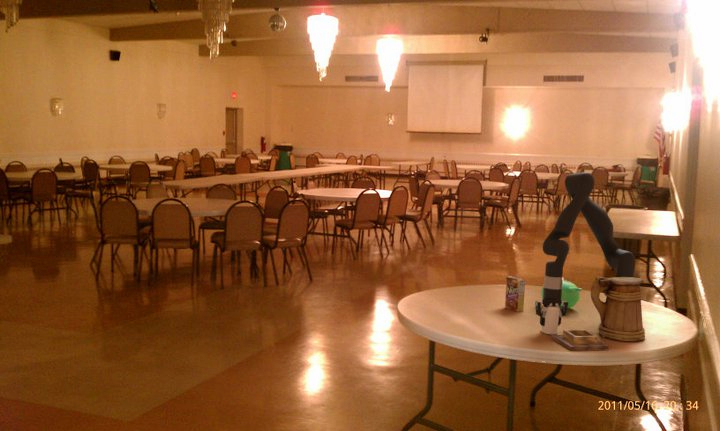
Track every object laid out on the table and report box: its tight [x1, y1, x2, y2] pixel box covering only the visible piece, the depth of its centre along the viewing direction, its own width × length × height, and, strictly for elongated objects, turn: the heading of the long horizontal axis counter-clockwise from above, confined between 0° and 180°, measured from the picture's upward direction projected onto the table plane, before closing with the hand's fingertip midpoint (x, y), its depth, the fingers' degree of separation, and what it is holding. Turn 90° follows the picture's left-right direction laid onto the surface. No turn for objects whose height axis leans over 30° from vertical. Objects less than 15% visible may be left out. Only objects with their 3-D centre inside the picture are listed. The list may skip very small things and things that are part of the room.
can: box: [541, 306, 559, 336], centre depth 293 cm, size 6×6×12 cm
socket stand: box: [551, 328, 609, 351], centre depth 279 cm, size 16×16×4 cm
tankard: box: [590, 276, 646, 342], centre depth 292 cm, size 18×24×25 cm
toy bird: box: [540, 276, 583, 310], centre depth 337 cm, size 18×17×15 cm
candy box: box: [504, 275, 526, 312], centre depth 331 cm, size 9×4×15 cm, turn 31°
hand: (550, 325), depth 294 cm, fingers closed on can, 6 cm apart
